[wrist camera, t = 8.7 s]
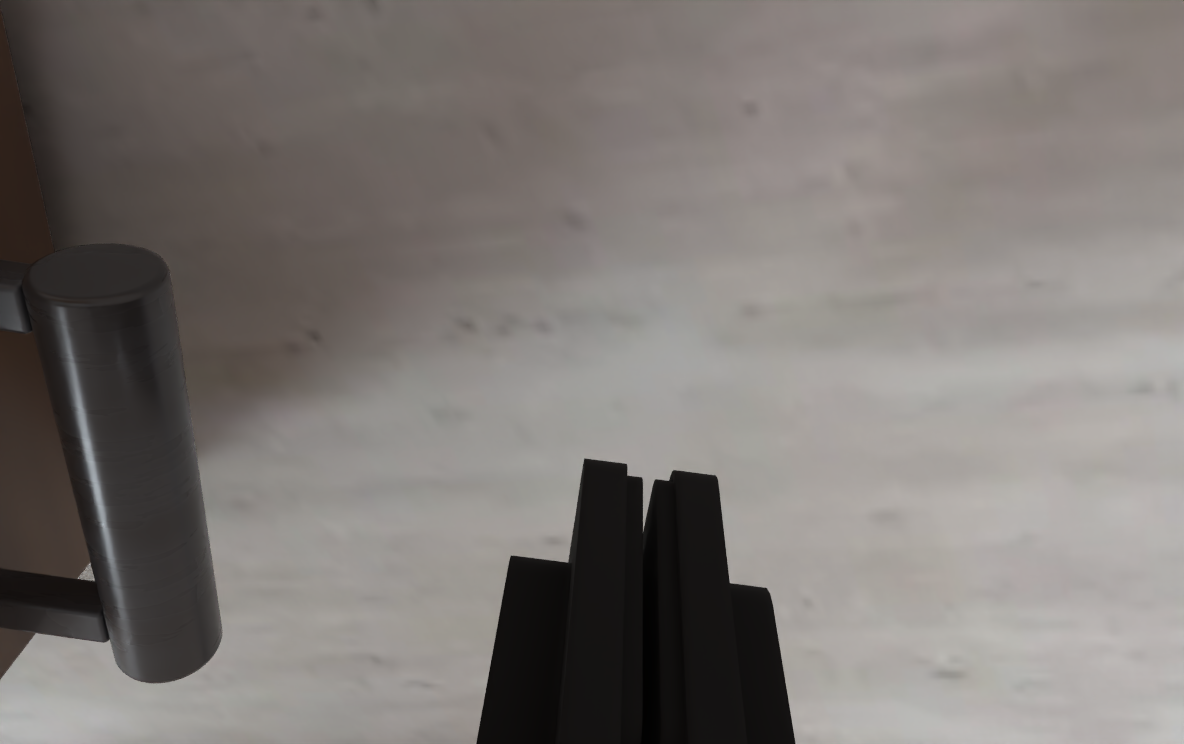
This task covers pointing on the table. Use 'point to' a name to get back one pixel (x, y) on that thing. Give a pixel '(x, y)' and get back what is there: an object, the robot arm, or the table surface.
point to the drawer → (94, 441)
